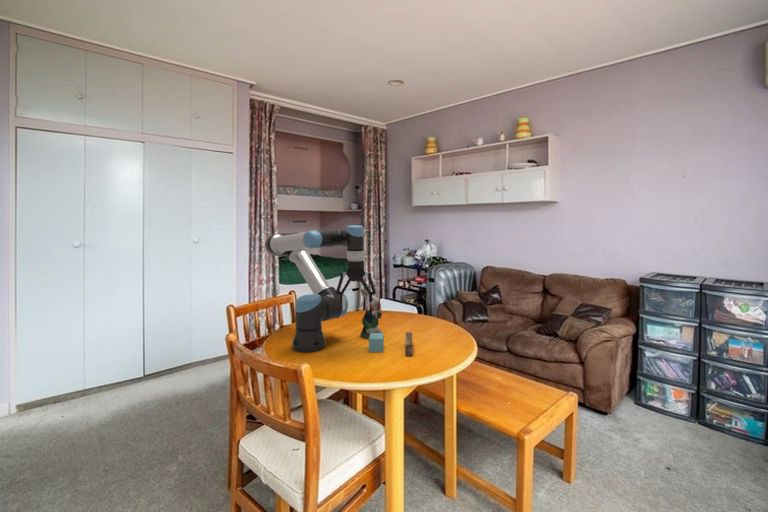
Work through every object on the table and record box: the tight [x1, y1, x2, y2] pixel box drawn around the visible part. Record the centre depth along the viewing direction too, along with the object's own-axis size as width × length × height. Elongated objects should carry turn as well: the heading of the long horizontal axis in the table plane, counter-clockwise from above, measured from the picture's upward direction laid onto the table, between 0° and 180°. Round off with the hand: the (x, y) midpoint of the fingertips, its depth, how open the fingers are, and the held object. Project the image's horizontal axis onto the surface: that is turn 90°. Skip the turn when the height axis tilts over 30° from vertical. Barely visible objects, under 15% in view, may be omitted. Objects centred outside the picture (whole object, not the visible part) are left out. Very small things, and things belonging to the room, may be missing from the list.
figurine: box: [360, 288, 383, 340], centre depth 195 cm, size 11×13×25 cm
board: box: [404, 331, 413, 357], centre depth 177 cm, size 3×18×5 cm, turn 176°
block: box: [368, 332, 385, 353], centre depth 178 cm, size 6×9×6 cm, turn 177°
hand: (356, 309), depth 177 cm, fingers open, 10 cm apart
